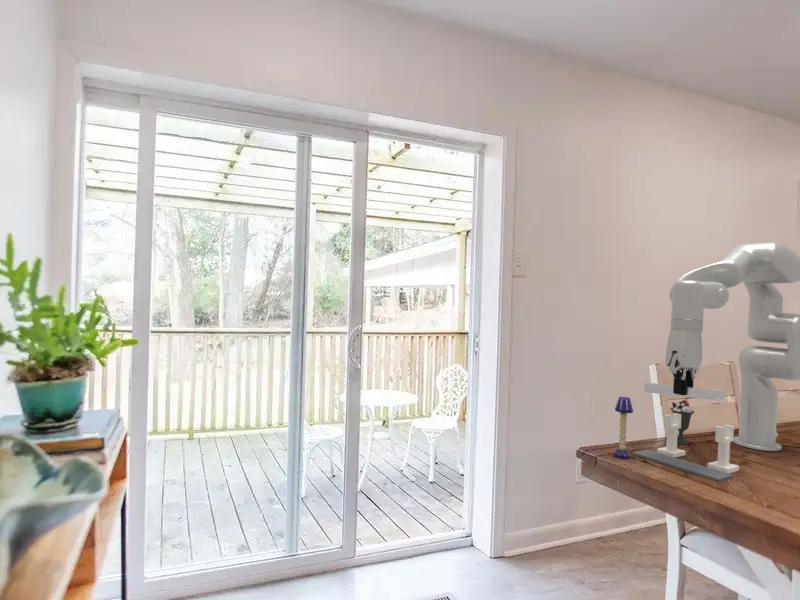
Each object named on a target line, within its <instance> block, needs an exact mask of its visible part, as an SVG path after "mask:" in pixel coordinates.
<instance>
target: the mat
mask: <svg viewBox="0 0 800 600" xmlns="http://www.w3.org/2000/svg"><path fill="white" fill-rule="evenodd" d="M632 455H633V456H636V457H640V458H643V459H645V460H649V461H652V462H656V463H657V464H658V463H659V464H662V465H666V466H667V467H671V468H675V469H677V468H678V469H677V470H681V471H684V472H686V473H690V474H694V475H696V476H700V477H703V478H706V479H708V480H713V481H716V482H722V481H726V480H729V479H733V478H734V475H733V474H732V473H729V474H728V473H725V472H722V471H718V470H715V469H712V468H708V467H707V466H704V465H701V464H698V463H694V462H691V461H688V460H684V459H681V458H678V457H676V458H675V457H671V456H668V455H665V454H661V453H658V452H657V451H654V450H650V449H644V450H643V449H642V450H639V451H634V452H633V453H632Z"/></svg>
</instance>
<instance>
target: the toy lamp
mask: <svg viewBox="0 0 800 600" xmlns="http://www.w3.org/2000/svg"><path fill="white" fill-rule="evenodd" d="M614 408H615V409H614V410H615V411H616V412H618V413H619V422H620V423H619V430H618V431H619V435H618V438H619V440H618V442H619V445H618V446H619V447H618V448H619V449H618V448H617V449H616V450H615V451H614V453H613V456H614V457H616V458H618V459H630V458H631V455H630V453H629V452H628V450H626V449H627V447H626V443H627V441H626V439H627V435H626V434H627V429H626V428H627V421H628V419H627V416H628V414H633V413H634V410H633V405H632V401H631V398H630V397H628V396H618V399H617V402H616V405H615V406H614Z"/></svg>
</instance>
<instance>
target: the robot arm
mask: <svg viewBox="0 0 800 600" xmlns="http://www.w3.org/2000/svg"><path fill="white" fill-rule="evenodd" d="M797 282H800V256H799V254H797V253H796V252H794V251H793V250H792V249H790V248H789V247H787V246H786V245H784V244H782V243H780V242H777V241H771V242H770V241H768V242H753V243H752V242H751V243H750V242H749V243H742V244H739V245H736V246H734V247H732V249H731V250H730V251H728V252H727V253H726V254H724V255H723V257H721V258H720V259H719V260H717V261H716V262H714V263H711V264H708V265H705V266H703V267H699V268H696V269H694V270H691V271H688V272H687V273H685V274H684V275H682V276H680V277H679V279H677V280H676V281H675V282H674V283H673V284H672V286H671V287H670V289H669V300H670V302H671V315H670V331H669V333H668V339H667V344H666V350H665V351H666V352H665V366H667V367H668V370H669V372H671V374H672V379H673V385H674V387H673V393H674V394H679V395H686V389H687V387H694V380H695V377H696V373H697V372H698V371H699V370H700V366H701V365H702V360H703V358H702V357H703V343H702V341H703V340H702V333H703V329H704V327H703V325H704V310H705V309H706V310H717V309H720V308H722V307H724V306H725V305H726V304H727V302H728V301H729V299H730V297H729V296H730V295H729V293H730V292H729V290H728V288H729V289H730V288H733V287H736V286H738V285H739V284H741V283H743V285H744V287H745V289H746V290H747V293H748V295H749V307H748V317H747V318H748V319H747V335H748V337H749V338H750V339H751V340H753V341H755V342H761V343H772V344H780V345H781V344H783V345H784V344H785V345H786V346H787V348H784V347H775V346H765V345H749V346H746V347H744V348H742V349H741V350H740V351H739V354H738V365H739V369H740V370H739V371H740V382H741V383H740V401H739V402H740V405H739V421H738V422H739V423H738V424H739V428H738V436H734V437H733V441H732V442H733V443H734V444H735V445H738V446H741V447H745V448H748V449H753V450H758V451H765V452H779V451H782V448H783V447H782V445H781V444H780V443H779V442H778V443H777V442H776V441H777V438H778V436H779V432H777V417H778V416H777V415H778V401H779V400H778V399H779V397H778V396H779V393H778V392H779V391H778V389H777V387H776V385H775V384H774V383H773V381H772V380H771V379H777V380H785V381H793V382H794V381H795V382H796V381H800V314H799V313H790V312H789V313H787V312H783V305H784V303H783V302H784V297H783V294H782V293H781V292H780V290H779V288H777V287H776V285H774V284H794V283H797Z"/></svg>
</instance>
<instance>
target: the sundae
mask: <svg viewBox="0 0 800 600" xmlns="http://www.w3.org/2000/svg"><path fill="white" fill-rule="evenodd" d="M690 398H691V397H686V398H685V399H682V401H678V402H673V401H672V402H671V405H672V407H670V410H671V411H672V414H673V413H677V414H681V428H679V429H678V435H677V444H680V445H689V444H690V442H689V441H688V440H685V438H684V432H686V430H688V429H689V426H690V422H691V417H692V415H693V414H695V410H692V408H691V407H690V403H689V402H688V400H689V399H690Z"/></svg>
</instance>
